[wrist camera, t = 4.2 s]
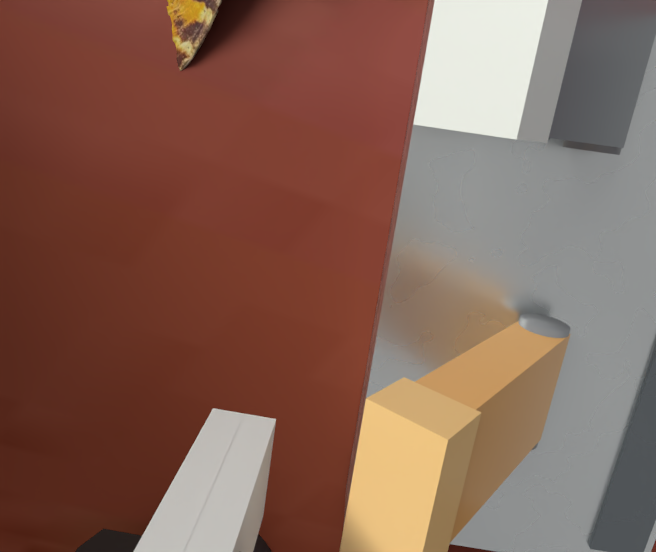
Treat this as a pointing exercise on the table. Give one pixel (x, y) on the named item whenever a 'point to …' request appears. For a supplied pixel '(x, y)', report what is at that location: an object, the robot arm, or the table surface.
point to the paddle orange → (451, 439)
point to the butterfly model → (191, 26)
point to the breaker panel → (539, 298)
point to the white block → (537, 69)
